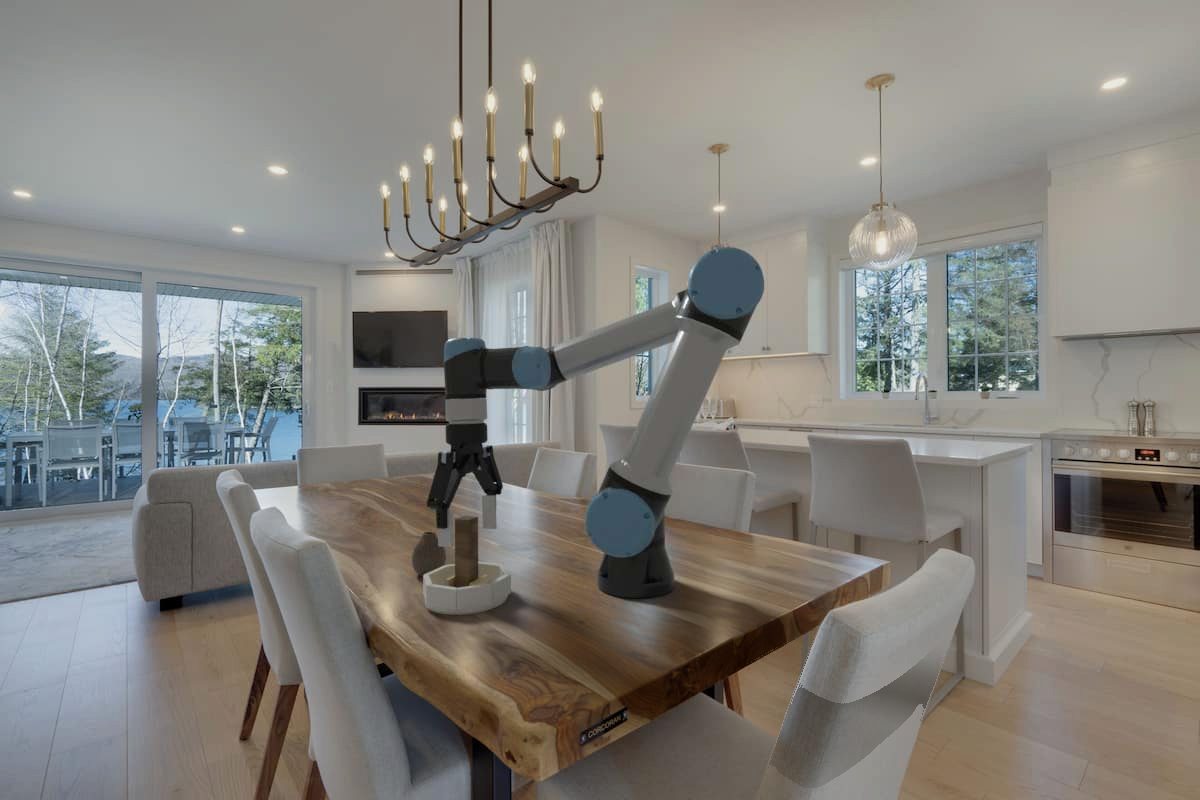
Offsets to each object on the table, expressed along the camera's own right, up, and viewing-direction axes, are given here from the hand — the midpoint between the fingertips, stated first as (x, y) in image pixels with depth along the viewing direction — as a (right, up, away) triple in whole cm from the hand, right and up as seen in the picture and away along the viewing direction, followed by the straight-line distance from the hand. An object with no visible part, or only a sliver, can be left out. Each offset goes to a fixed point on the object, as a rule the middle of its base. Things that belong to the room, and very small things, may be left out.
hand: (469, 537), depth 99 cm
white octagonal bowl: (0, -12, 0) cm, 12 cm away
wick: (0, -11, 0) cm, 10 cm away
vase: (-12, -12, +14) cm, 22 cm away
